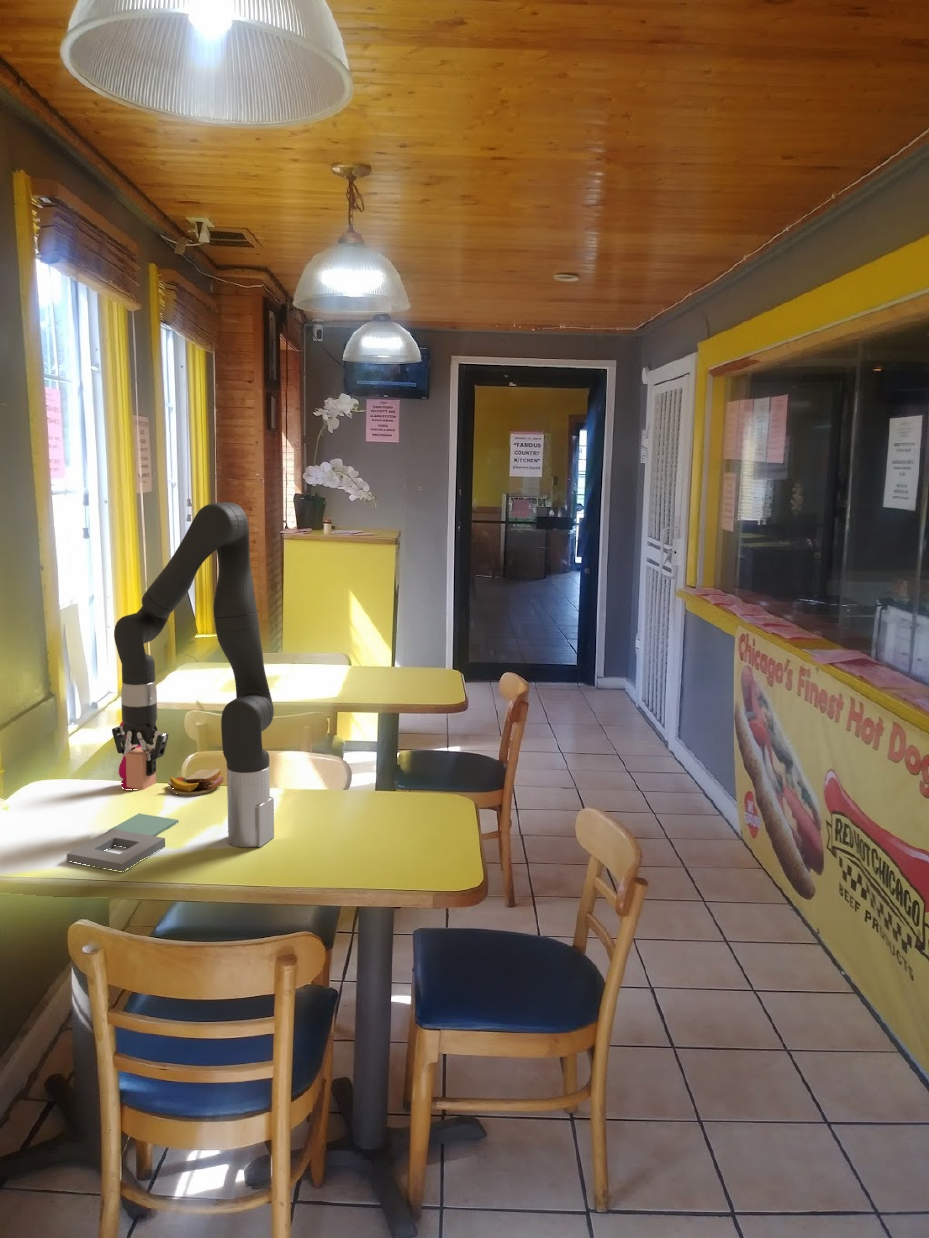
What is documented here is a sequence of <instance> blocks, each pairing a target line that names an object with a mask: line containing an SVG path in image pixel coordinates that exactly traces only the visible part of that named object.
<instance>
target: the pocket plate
mask: <svg viewBox="0 0 929 1238" xmlns="http://www.w3.org/2000/svg"><path fill="white" fill-rule="evenodd" d="M110 829H111V828H110ZM108 830H109V829H108ZM108 830H107V831H105V832H103V833H102V834H100V835H98V836H96V837H94V838H93V839H90V840H89V841H87V842H85V843H84V844H83V843H82V845H80V846H78V847H76V848H74V849H72V850H71V851H69V852H67V853H66V861H67V860H68V861H72V862H77V863H81V864H86V865H90V866H95V867H99V868H106V869H112V870H117V871H122V872H123V871H125V870H126V869H127V868H130V867H131V866H133V865H134V864H136V863H137V862H139V861H140V860H142V859H144V858H146V857H148V856H150V855H151V854H153V853H154V852H156V851H157V850H159V849H161V850H162V849H164V848H166V838H165V837H162V836H150V835H145V834H139V833H133V832H128V831H122V830H116V829H111V830H109V831H108ZM114 845H116V846H114ZM113 846H114V847H117V846H122V847H126V848H125V850H124V851H122V852H120V853H116V852H112V851H111V852H110V851H104V850H106V849H109V848H111V847H113ZM114 847H113V848H114ZM122 847H121V848H122ZM163 847H164V848H163ZM128 848H129V849H128ZM111 849H112V848H111ZM109 850H110V849H109ZM159 851H160V850H159ZM156 853H157V852H156ZM154 854H155V853H154ZM154 854H153V855H154ZM151 856H152V855H151ZM151 856H150V857H151ZM148 858H149V857H148ZM146 859H147V858H146ZM99 868H98V869H99ZM130 869H131V868H130Z"/></svg>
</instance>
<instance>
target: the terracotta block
mask: <svg viewBox="0 0 929 1238" xmlns="http://www.w3.org/2000/svg"><path fill="white" fill-rule="evenodd" d="M150 753H151V752H150ZM146 760H147V759H146V754H145V753H144V751H142V748H140V747H138V748H136V749H134V750H132V751H130V752H127V753H126V780H127V787H131V788H136V789H141V790H143V791H144V790H146V789H147V788H149V787H151V786H153V785H155V784H157V775H156V774H157V771H156V772H155V773H154V774H153V775H151V776H147V775H146Z"/></svg>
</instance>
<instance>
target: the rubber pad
mask: <svg viewBox="0 0 929 1238" xmlns="http://www.w3.org/2000/svg"><path fill="white" fill-rule="evenodd" d="M176 823H177V824H178V823H179V819H175V818H171V817H170V818H169V817H163V816H157V815H151V814H145V813H139V812H138V813H137V814H135V815H133V816H131V817H130V818H128V819H126V820H124V821H123V822H121V823H118V824H117V825H115V826H113V827H112V828H110V829H108V830H107V831H109V830H111V829H116V830H122V831H128V832H133V833H139V834H145V835H150V836H156V835H157V834H158V835H160V834H161V833H160V832H162V831H163V832H165V831H167V830H168V829H170V828H171V827H174V826H176V825H177V824H176ZM166 829H167V830H166ZM164 830H165V831H164ZM163 832H162V833H163ZM159 833H160V834H159ZM158 835H157V836H158ZM157 836H156V837H157Z"/></svg>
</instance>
